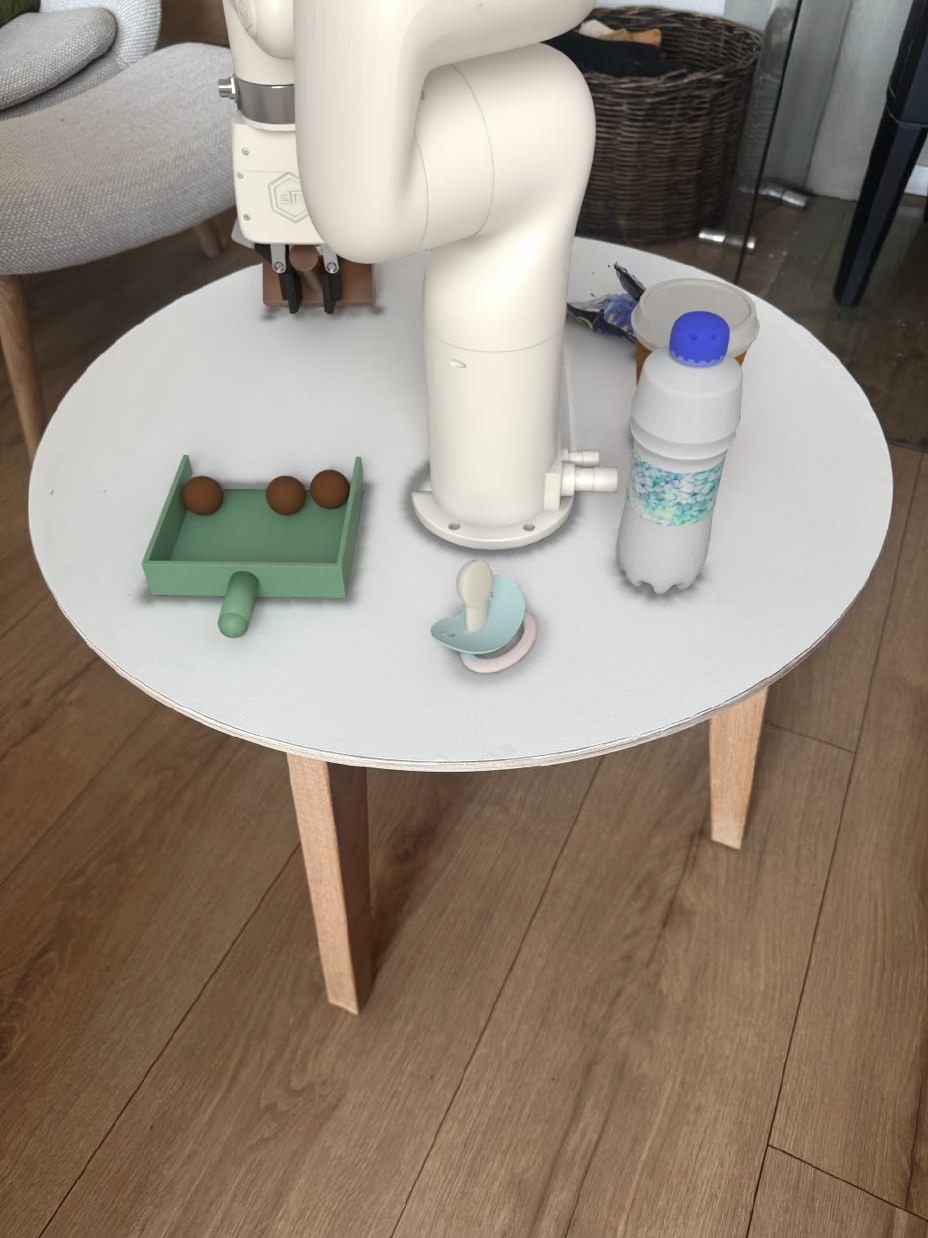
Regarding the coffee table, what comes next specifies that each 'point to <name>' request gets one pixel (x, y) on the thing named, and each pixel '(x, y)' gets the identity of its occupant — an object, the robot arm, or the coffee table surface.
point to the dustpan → (252, 549)
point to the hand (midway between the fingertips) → (313, 304)
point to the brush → (308, 267)
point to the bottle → (678, 452)
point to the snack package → (611, 308)
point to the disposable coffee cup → (686, 296)
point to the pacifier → (486, 619)
